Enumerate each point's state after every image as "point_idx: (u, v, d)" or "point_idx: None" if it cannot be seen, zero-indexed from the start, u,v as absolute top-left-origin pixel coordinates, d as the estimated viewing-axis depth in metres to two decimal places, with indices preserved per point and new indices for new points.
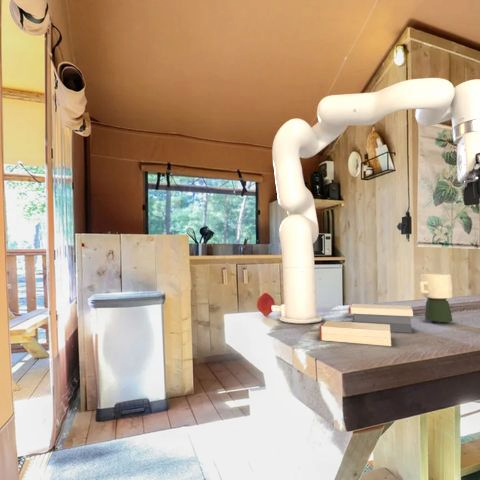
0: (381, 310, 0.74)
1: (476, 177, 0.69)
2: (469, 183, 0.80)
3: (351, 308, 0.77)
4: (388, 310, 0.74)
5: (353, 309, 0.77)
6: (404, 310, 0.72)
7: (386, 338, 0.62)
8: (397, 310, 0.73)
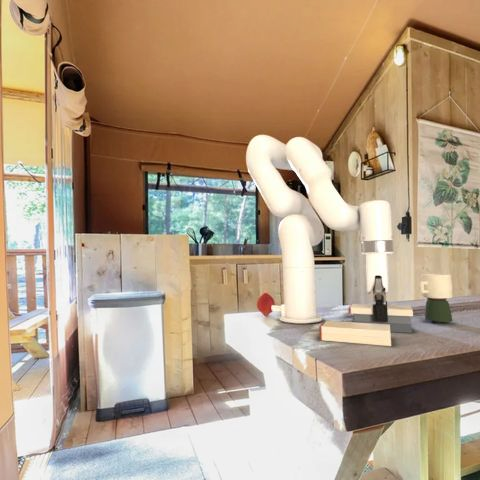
0: None
1: (374, 303, 0.74)
2: None
3: (351, 308, 0.77)
4: (388, 310, 0.74)
5: (353, 309, 0.77)
6: (404, 310, 0.72)
7: (386, 338, 0.62)
8: (397, 310, 0.73)
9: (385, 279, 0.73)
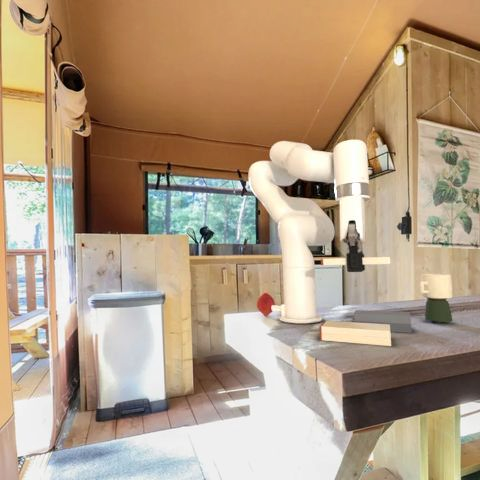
0: None
1: (347, 251, 0.66)
2: (356, 246, 0.75)
3: (324, 259, 0.70)
4: (363, 259, 0.66)
5: (326, 260, 0.69)
6: (381, 258, 0.65)
7: (386, 338, 0.62)
8: (373, 258, 0.65)
9: (359, 224, 0.65)
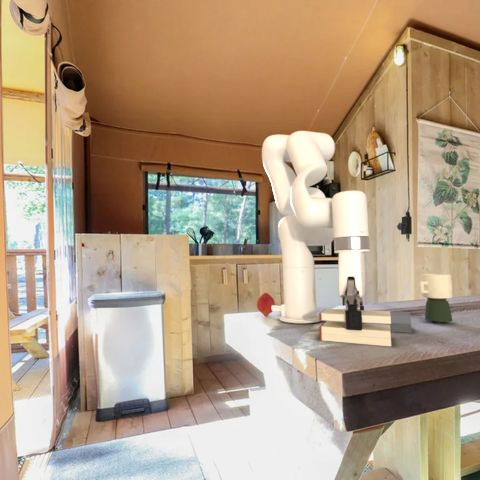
0: None
1: (346, 308, 0.64)
2: None
3: (322, 314, 0.67)
4: (363, 316, 0.64)
5: (324, 315, 0.67)
6: (381, 317, 0.62)
7: (386, 338, 0.62)
8: (373, 317, 0.63)
9: (359, 281, 0.63)
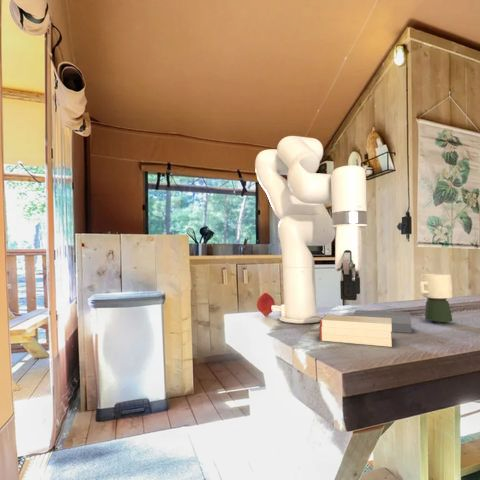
0: (356, 323, 0.64)
1: (341, 278, 0.64)
2: None
3: (322, 320, 0.67)
4: (364, 324, 0.63)
5: (325, 322, 0.67)
6: (382, 324, 0.62)
7: (386, 338, 0.62)
8: (374, 324, 0.63)
9: (355, 254, 0.64)
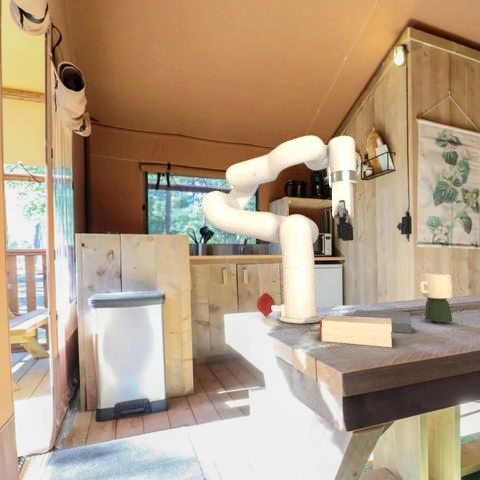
0: (356, 324, 0.64)
1: (337, 221, 0.82)
2: None
3: (322, 321, 0.67)
4: (364, 324, 0.63)
5: (325, 322, 0.67)
6: (382, 324, 0.62)
7: (386, 339, 0.61)
8: (374, 324, 0.63)
9: (348, 203, 0.82)
